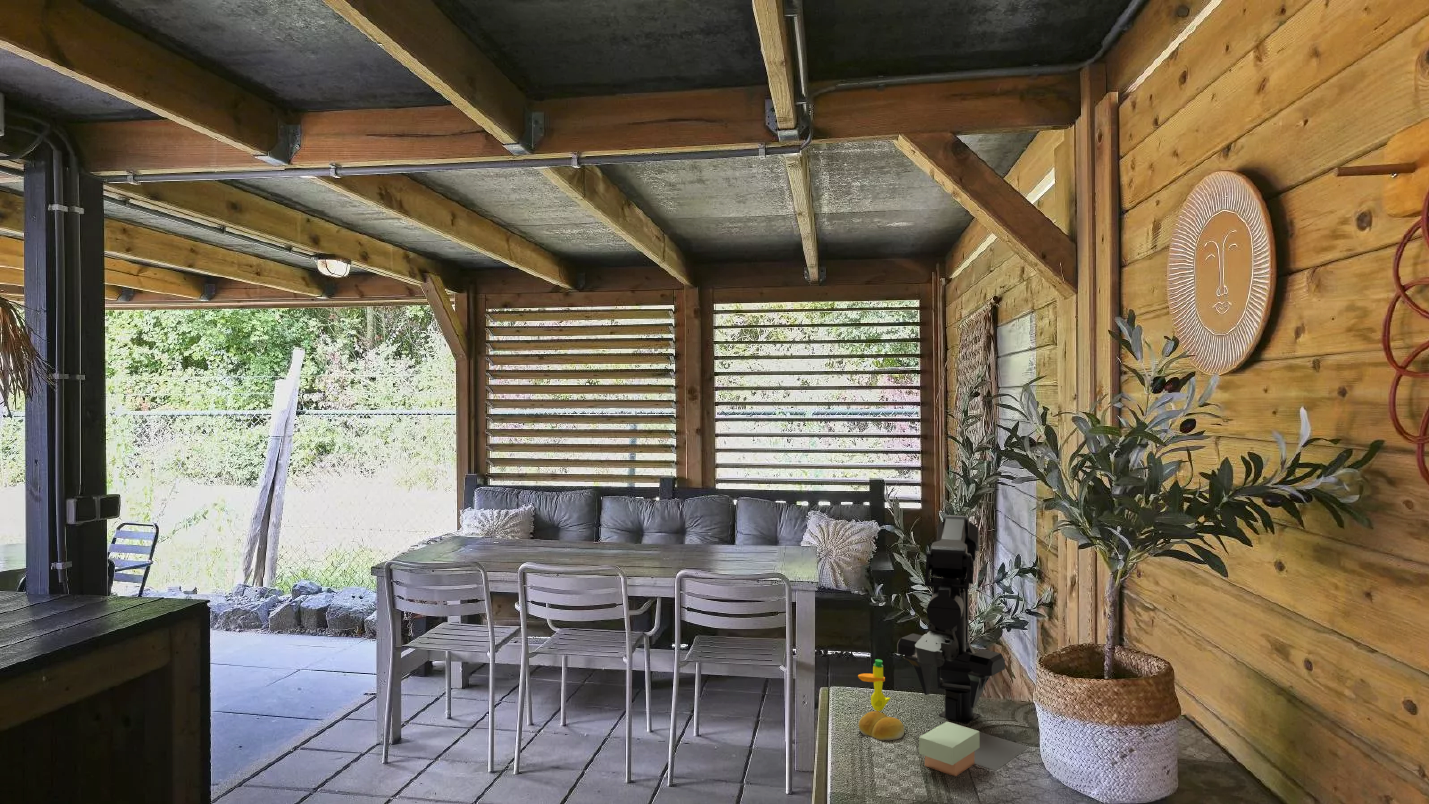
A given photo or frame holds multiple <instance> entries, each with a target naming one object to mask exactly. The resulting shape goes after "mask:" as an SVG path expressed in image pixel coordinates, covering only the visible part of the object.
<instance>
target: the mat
mask: <svg viewBox="0 0 1429 804" xmlns="http://www.w3.org/2000/svg"><path fill="white" fill-rule="evenodd" d="M979 739H980V748H978V749H977V750H975V751H974V765H977V766H980V767H982V768H986V769H988V770H992V771H994V772H996V771H998V770H999V769H1001V768H1002V767H1004V766H1005V765H1006V764H1008V763H1009V762H1011V761H1012V760H1013V759H1015V758H1016V757H1017V756H1019V755H1021V753H1023V752H1024V751H1026V750H1027V749H1029V748H1030V746H1028V745H1023V744H1022V743H1017V742H1016V741H1015V742H1014V741H1011V740H1008V739H1004V738H1001V737H997V736H995V735H990V734H988V733H984V732H981V731H979Z"/></svg>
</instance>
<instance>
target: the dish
mask: <svg viewBox="0 0 1429 804" xmlns="http://www.w3.org/2000/svg"><path fill="white" fill-rule="evenodd" d="M974 765H975V764H974V752H972V753H971V754H969V755H968V756H966V757H964V758H963V759H961V760H960V761H958V762H957V763H955V764H954V765H950V764H947V763H944V762H941V761H939V760H936V759H933V758H930V757H927V756H924V766H925V767H927V768H929V769H933V770H936V771H938V772H941V773H944V774H946V775H950V776H953V777H957V776H959V775H960V774H962V773H963V772H965V771H966V770H968V769H969V768H971V767H972V766H974Z"/></svg>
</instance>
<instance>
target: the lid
mask: <svg viewBox="0 0 1429 804" xmlns="http://www.w3.org/2000/svg"><path fill="white" fill-rule="evenodd" d="M979 732H980V731H979V730H976V729H973V728H970V727H966V726H963V725H960V724H957V723H953V722H949V721H945V722H944V723H941V724H940V725H938V726H937V727H934V728H933V729H930V730H929V731H927V732H926V733H924V734H922V735H920V736H919V737H918V751H919V752H918V753H919V755H922V756H924V757H925V756H927V757H930V758H933V759H936V760H939V761H941V762H944V763H947V764H950V765H954V764H955V763H957V762H958V761H960V760H961V759H963V758H964V757H966V756H968V755H969V754H971V753H972V752H974V751H975V750H977V749H978V748H980V739H979Z"/></svg>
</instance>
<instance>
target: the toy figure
mask: <svg viewBox="0 0 1429 804" xmlns="http://www.w3.org/2000/svg"><path fill="white" fill-rule="evenodd" d="M857 678H858V679H859V680H861V681H862V682H868V683H873V689H874V690H873V691H874V692H873V693H872V694H871V696H870V704H871V707H872V708H873V711H879V712H882V711H883V710H884V708H885V707H886V705H887V704H888V703H889V701H890V700H891V697H886V696H885V694H884V693H883V685H884V682H886V677H885V676H884V665H883V660H882V659H879V658H877V659H874V663H873V666H872V673H860V674H858V675H857Z"/></svg>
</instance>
